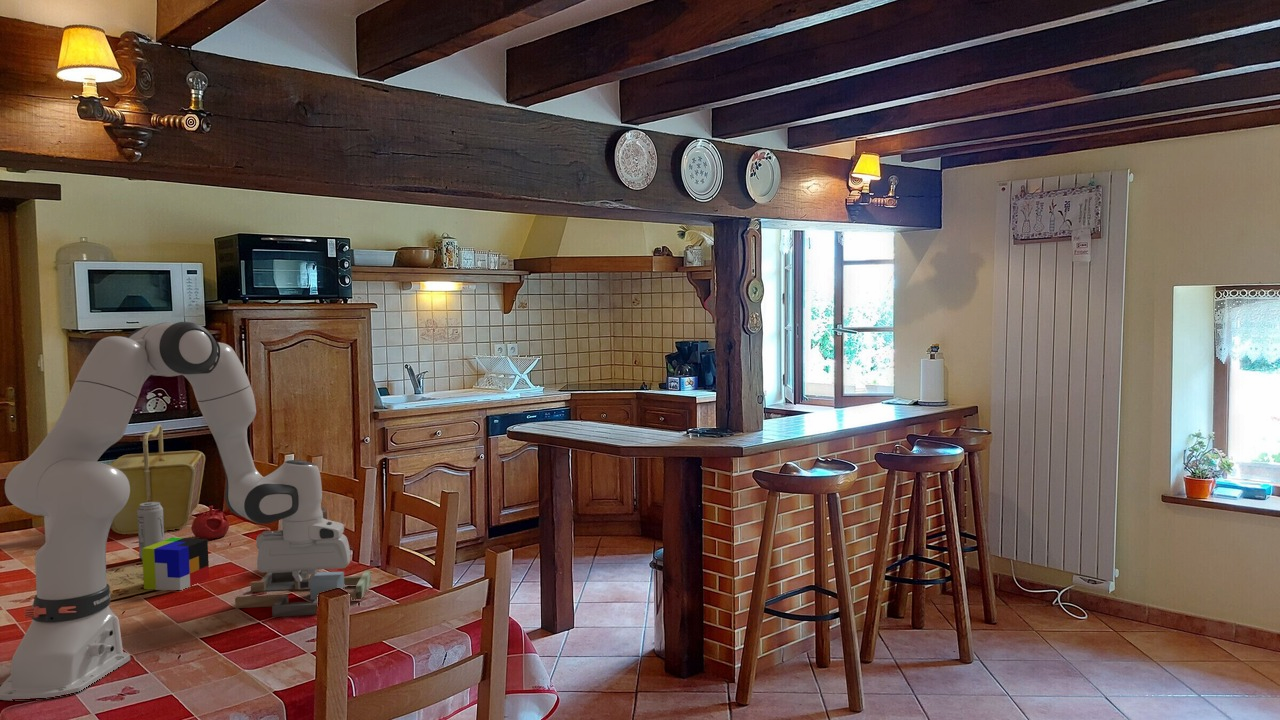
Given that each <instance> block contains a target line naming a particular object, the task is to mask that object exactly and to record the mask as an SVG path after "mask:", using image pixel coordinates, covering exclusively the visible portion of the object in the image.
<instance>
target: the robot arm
mask: <svg viewBox="0 0 1280 720" xmlns="http://www.w3.org/2000/svg"><path fill="white" fill-rule="evenodd" d="M157 376H159V377H160V376H161V377H177V376H184V378H185V379H186V380H187V381H188V382H189V383H190V386H191V387H192V390H193V393H194V396H195V399H196V402H197V405H198V408H199V410H200V413H201V414H202V417H203V419H204V421H205V423H206V425H207V427H208V428H209V430H210V432H211V435H212V436H213V439H214V441H215V444H216V447H217V451H218V455H219V457H220V461H221V465H222V468H223V470H224V474H225V488H224V502H225V504H226V507H227V508H228V510H229V511H230V512H231V513H233V514H234V515H236V516H239V517H241V518H242V517H243V518H245V519H246V520H249V521H251V522H254V523H256V524H264V525H266V524H270V523H275V522H277V521H278V522H279V521H280V520H281V523H282V530H271V531H269V530H264V531H263V532H261V533H260V534H258V535H257V537H256V540H255V541H256V542H255V543H256V548H257V549H258V551H257V558H256V559H257V561H256V569H257V570H258V571H259V572H260V573H268V572H279V571H292V575H293V577H294V578H295V580H296V581H297V582H298V589H300V590H310V580H311V579H312V578H313V577H314V576H315V575H316V574H317V573H318V570H333V569H334V570H336V569H345V568H347V567H348V566H349V564H350V563H351V551H350V544H349V543H350V542H349V541H348V537H347V536H346V535H345V534H344V530H345V525H344V524H343V523H342V522H338V521H336V520H335V521H334V520H330V519H328V518H327V519H324V518H323V512H322V509H321V507H322V504H321V503H322V499H323V488H322V484H323V483H322V477H321V472H320V469H319V467H318V465H316V464H315V463H314V462H311V461H307V460H298V459H291V460H285V461H284V462H283V463H282V465H279V467H278V468H276V469H275V470H274V471H272V472H271V473H269V474H267V475H265V476H263V475H262V474H261V473H260V472H259V471H258V470H257V468H256V466H255V463H254V459H253V456H252V453H251V449H250V446H249V443H248V439H247V432H248V427H249V426H250V425H251V424H252V422H253V421H254V420H255V417H256V415H257V405H256V399H255V395H254V391H253V388H252V385H251V383H250V379H249V377H248V375H247V373H246V370H245V369H244V366H243V363H242V362H241V360H240V358H239V357H238V354H237V353H236V352H235V350H234V348H233V347H232V346H230V345H229V344H227V343H225V342H218V341H217V340H215V338H214V336H213V335H212V333H211V332H210V331H209V330H207V329H206V328H205V327H204V326H202V325H200V324H198V323H195V322H190V321H178V322H160V323H155V324H151V325H145V326H141V327H139V328H137V329H134V330H133V331H132V332H131V333H129V334H128V335H127V336H121V335H119V336H118V335H113V336H111V335H110V336H107V337H103V338H102V339H100V340H98V341H97V342H96V344H95V346H94V347H93V348H92V349H91V351H90V353H89V354H88V355H87V357H86V359H85V360H84V362H83V364H82V365H81V367H80V370H79V371H78V373H77V376H76V378H75V380H74V383H73V385H72V387H71V389H70V392H69V394H68V396H67V399H66V401H65V404H64V406H63V408H62V410H61V413H60V415H59V417H58V418H57V420H56V422H55V423H54V425H53V427H52V429H51V430H50V431H49V433H48V434H47V435H46V436H45V438H44V439H43V440H42V442H41V443H40V444H39V445H38V446H37V448H36V449H35V450H34V451H33V452H32V453H31V454H30V455H29V456H28V457H27V458H26V459H25V460H23V461H21V462H20V463H19V464H17V465H15V466H14V467H13V468H12V469H11V470H10V471H9V473H8V475H7V477H6V478H5V483H4V494H5V497H6V498H7V500H8V501H9V502H10V503H11V504H12V505H14V507H16V508H18V509H20V510H21V511H24V512H26V513H28V514H31V515H34V516H42V517H44V516H48V517H50V520H51V524H50V530H49V534H48V537H47V540H46V541H45V543H44V544H43V545H42V546H41V547H39V548H38V549H37V552H36V553H35V555H34V565H35V567H34V568H35V587H36V589H35V590H36V594H35V595H34V598H33V599H34V600H33V602H32V606H26V607H25V608H24V611H23V613H24V614H23V617H24V619H31V623H30V625H29V627H28V628H27V630H26V632H25V634H24V635H23V637H22V639H21V641H20V643H19V644H18V646H17V648H16V651H15V652H14V654H13V656H12V657H11V662H10V663H11V665H10V675H9V676H7V678H6V679H5V681H3V683H2V684H1V685H0V700H3V701H13V700H12V699H30V698H46V699H48V698H47V697H53V696H58V695H64V694H67V693H68V694H69V693H74V692H78V693H80V692H82V691H84V690H85V689H87V688H89V687H90V686H92V685H93V684H95V683H96V681H97V680H98V681H100V680H102V679H103V678H105V677H106V676H107V674H108V673H109V674H110V672H111V673H112V672H114V671H115V670H117V669H118V667H119V668H121V667H122V666H123V665H125V664H126V663H128V662H130V661H131V655H130V653H129V652H125V651H124V649H123V643H122V634H121V628H120V627H121V626H120V621H119V617H118V616H117V615H116V614H115V613H114V612H113V611H112V609H111V608H110V604H111V596H112V592H111V590H110V585H109V584H108V582H107V552H106V551H107V541H108V537H109V533H110V529H111V524H112V521H113V519H114V517H115V516H116V515H117V514H118V513H119V512H120V511H121V510H122V509H123V508H124V506H125V505H126V503H127V501H128V498H129V494H130V485H129V481H128V479H127V477H126V475H125V474H124V473H123V472H122V471H120V470H118V469H116V468H114V467H112V466H110V464H106V463H104V462H102V461H98V460H99V459H100V458H101V456H102V455H103V454H104V453H105V452H106V451H107V450H108V449H109V448H110V447H111V446H113V445H115V444H116V443H118V442H119V441H120V440H121V439H122V438H123V437H124V435H125V433H126V431H127V428H128V425H129V423H130V419H131V417H132V415H133V412H134V411H135V410H134V409H135V407H136V404H137V401H138V399H139V398H140V397H139V396H140V394H141V390H142V388H143V385H144V383H145V382H146V381H147V379H148V378H149V377H157ZM301 570H309V579H305V580H302V578H301V576H300V575H299V573H300V572H301ZM113 670H114V671H113ZM109 674H108V675H109ZM105 675H106V676H105ZM102 677H103V678H102ZM99 679H100V680H99ZM98 681H97V682H98ZM94 682H95V683H94ZM92 683H93V684H92ZM91 684H92V685H91ZM89 685H90V686H89ZM88 686H89V687H88ZM86 687H87V688H86ZM84 688H85V689H84ZM83 689H84V690H83ZM81 690H82V691H81ZM79 691H80V692H79ZM74 694H75V693H74Z"/></svg>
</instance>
